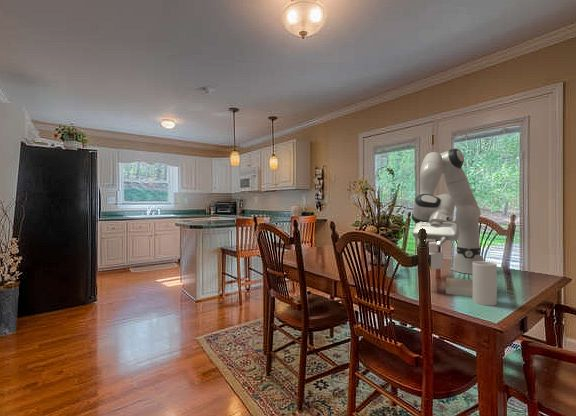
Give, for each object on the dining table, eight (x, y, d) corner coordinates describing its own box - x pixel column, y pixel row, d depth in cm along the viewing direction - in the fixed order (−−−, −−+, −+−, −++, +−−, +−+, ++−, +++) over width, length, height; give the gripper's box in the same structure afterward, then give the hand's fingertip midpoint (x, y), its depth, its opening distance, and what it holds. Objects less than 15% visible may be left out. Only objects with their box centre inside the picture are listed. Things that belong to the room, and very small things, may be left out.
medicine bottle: (419, 266, 141) (418, 241, 141) (431, 265, 143) (431, 240, 143) (430, 269, 134) (430, 243, 134) (443, 268, 137) (443, 242, 136)
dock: (446, 283, 151) (446, 277, 151) (474, 286, 145) (474, 280, 145) (445, 293, 135) (445, 286, 135) (477, 297, 129) (477, 290, 129)
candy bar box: (381, 273, 174) (381, 245, 174) (390, 273, 173) (390, 245, 173) (383, 278, 163) (383, 248, 163) (393, 278, 162) (393, 248, 162)
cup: (468, 298, 127) (468, 260, 127) (489, 299, 127) (489, 261, 126) (479, 305, 119) (478, 265, 119) (501, 305, 118) (501, 265, 118)
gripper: (415, 217, 151) (406, 239, 144) (459, 218, 136) (452, 242, 129) (419, 225, 154) (410, 247, 147) (463, 227, 139) (456, 251, 132)
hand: (430, 245), depth 138 cm, fingers closed on medicine bottle, 6 cm apart
